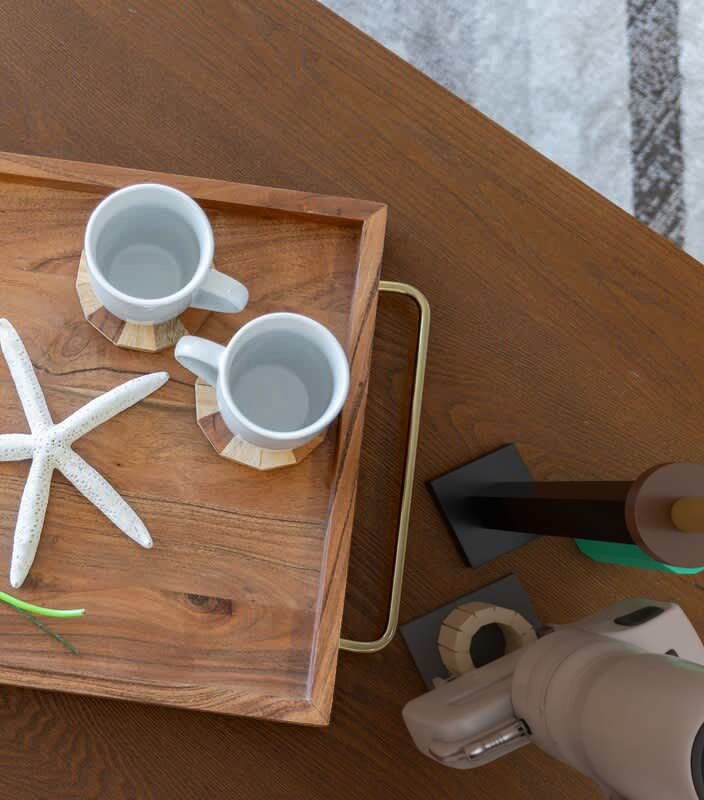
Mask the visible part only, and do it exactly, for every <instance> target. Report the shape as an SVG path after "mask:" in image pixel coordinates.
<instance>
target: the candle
mask: <svg viewBox="0 0 704 800" xmlns="http://www.w3.org/2000/svg"><path fill="white" fill-rule="evenodd" d="M573 541H574V542H575V544H576V545H577V547H578V549H579V551H580V552H581V553H582V554H584V555H586V556H587V557H589V558H591V559H592V560H593V561H595V562H598V563H605V564H612V565H619V566H625V567H632V568H639V569H645V570H650V571H651V570H652V571H659V572H664V573H665V572H666V573H672V574H688V575H689V574H692V575H693V574H694V575H696V574H697V573H700V572H702V571H704V567H700V568H680V567H673V566H668V565H664V564H661V563H659V562H657V561H655V560H653V559H651V558H650V557H648V556H647V555H646V554H645V553H643V552H642V551H641V550H640V548H639V547H638V546H637V545H629V544H619V543H610V542H601V541H592V540H583V539H574V538H573Z"/></svg>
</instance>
